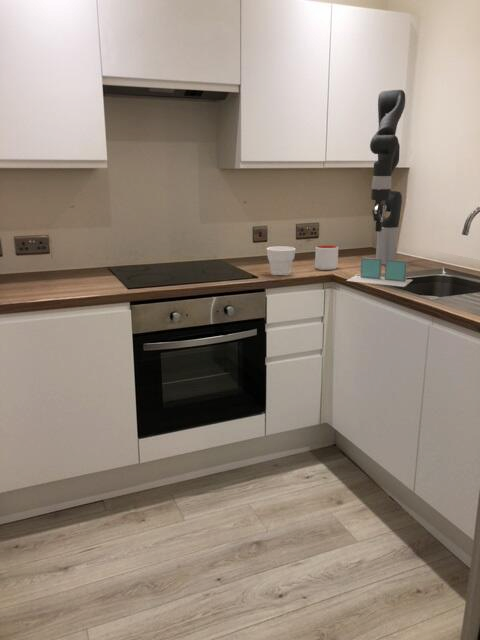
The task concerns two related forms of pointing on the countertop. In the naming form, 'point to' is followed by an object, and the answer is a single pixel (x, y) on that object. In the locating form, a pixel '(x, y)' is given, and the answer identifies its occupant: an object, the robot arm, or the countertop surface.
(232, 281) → the countertop surface
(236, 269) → the countertop surface
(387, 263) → the tile
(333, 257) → the cup
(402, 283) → the mat
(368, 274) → the tile
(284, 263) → the cup
